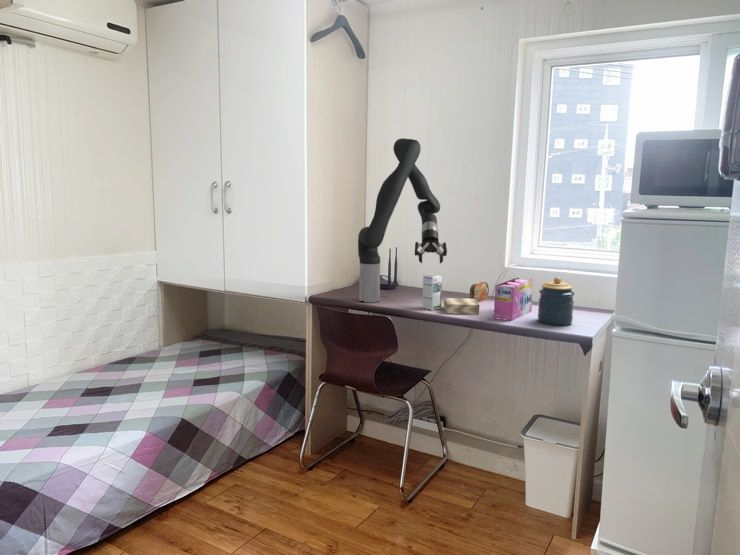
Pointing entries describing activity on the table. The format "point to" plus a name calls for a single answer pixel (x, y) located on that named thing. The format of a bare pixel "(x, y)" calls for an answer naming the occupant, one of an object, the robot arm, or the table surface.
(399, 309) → the table surface
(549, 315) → the canister
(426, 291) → the syrup box
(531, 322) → the table surface
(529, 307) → the gum box
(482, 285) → the tin
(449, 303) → the birch plinth
